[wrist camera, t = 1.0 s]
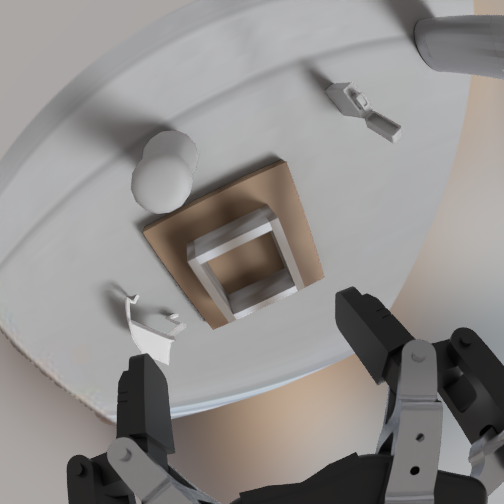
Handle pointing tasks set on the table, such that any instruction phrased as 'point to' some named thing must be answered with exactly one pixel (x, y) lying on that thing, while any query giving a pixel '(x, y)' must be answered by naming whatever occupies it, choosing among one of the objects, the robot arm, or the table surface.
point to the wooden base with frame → (239, 245)
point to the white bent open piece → (152, 336)
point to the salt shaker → (165, 172)
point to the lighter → (362, 110)
